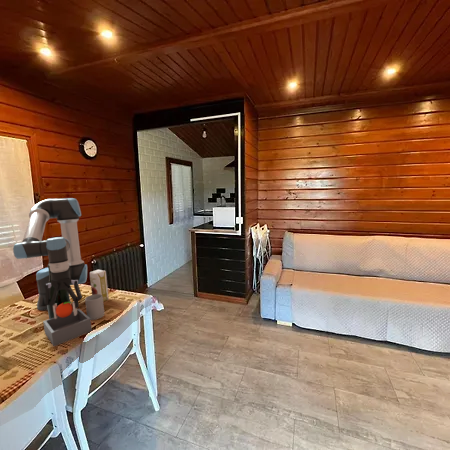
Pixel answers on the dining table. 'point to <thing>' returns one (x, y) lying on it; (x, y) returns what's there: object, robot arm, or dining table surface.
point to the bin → (67, 327)
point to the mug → (94, 306)
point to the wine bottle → (61, 296)
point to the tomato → (64, 309)
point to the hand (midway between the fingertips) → (66, 315)
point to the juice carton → (99, 283)
